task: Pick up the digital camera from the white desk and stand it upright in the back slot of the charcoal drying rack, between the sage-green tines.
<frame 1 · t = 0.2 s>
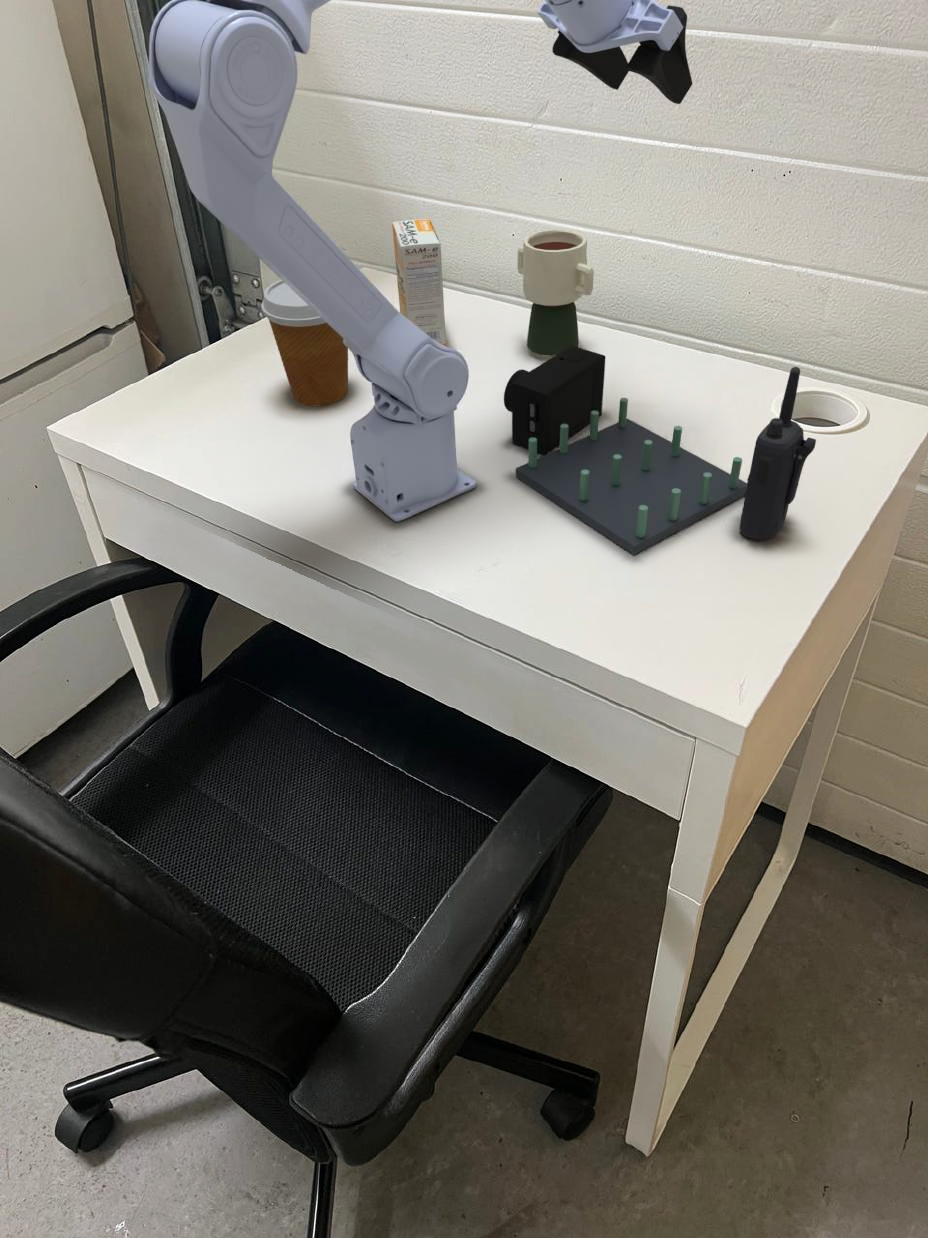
hand: (651, 85, 83), 30 cm above the table, tool tilted 45°, fingers open, 7 cm apart
rack: (629, 484, 90), on the table
character mug: (552, 350, 112), on the table
supplement box: (423, 339, 116), on the table
two-way radio: (767, 530, 84), on the table
digital camera: (553, 429, 99), on the table
disposable coffee cup: (321, 394, 106), on the table
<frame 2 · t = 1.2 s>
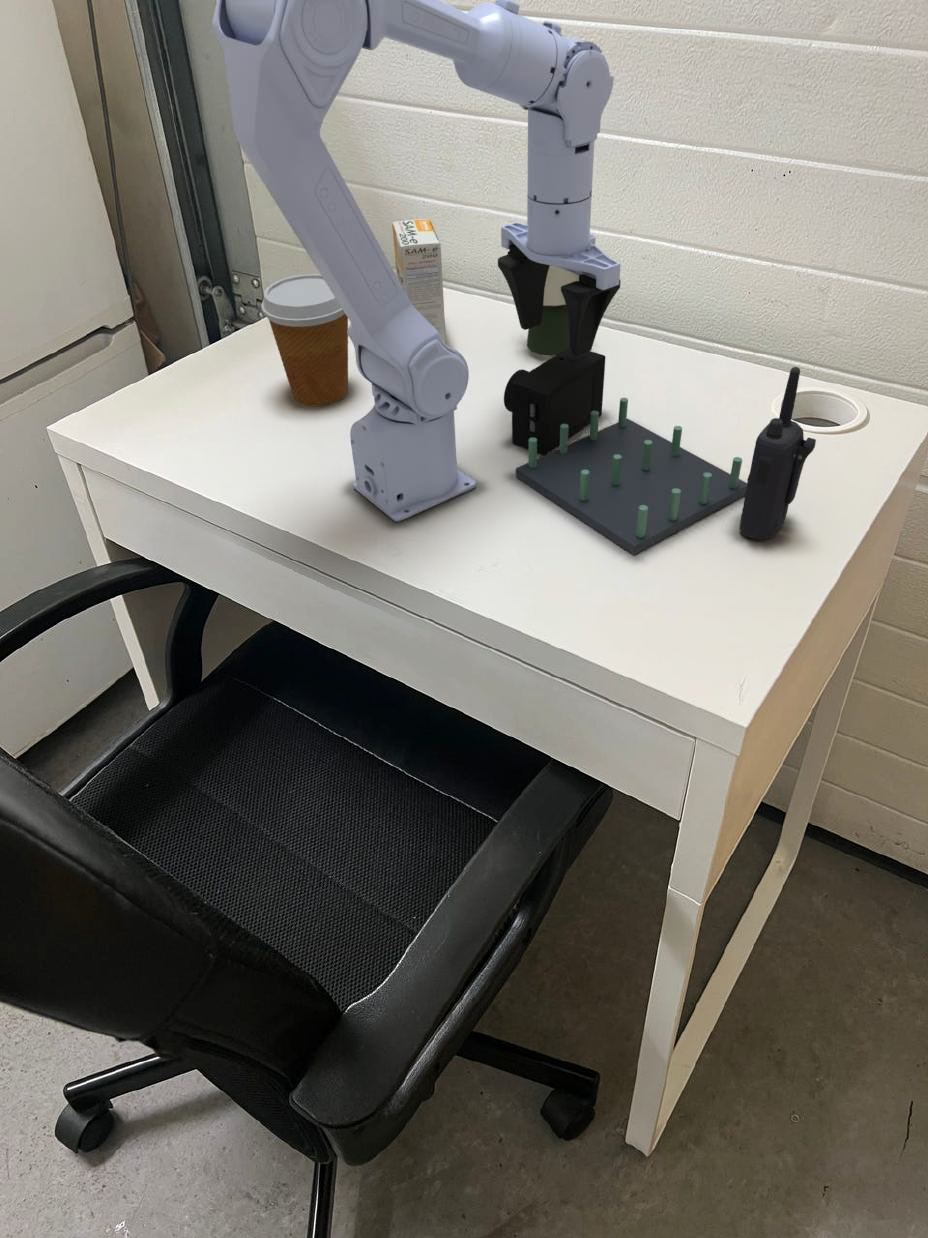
hand: (555, 338, 92), 10 cm above the table, tool pointing down, fingers open, 7 cm apart
nothing on the table moved.
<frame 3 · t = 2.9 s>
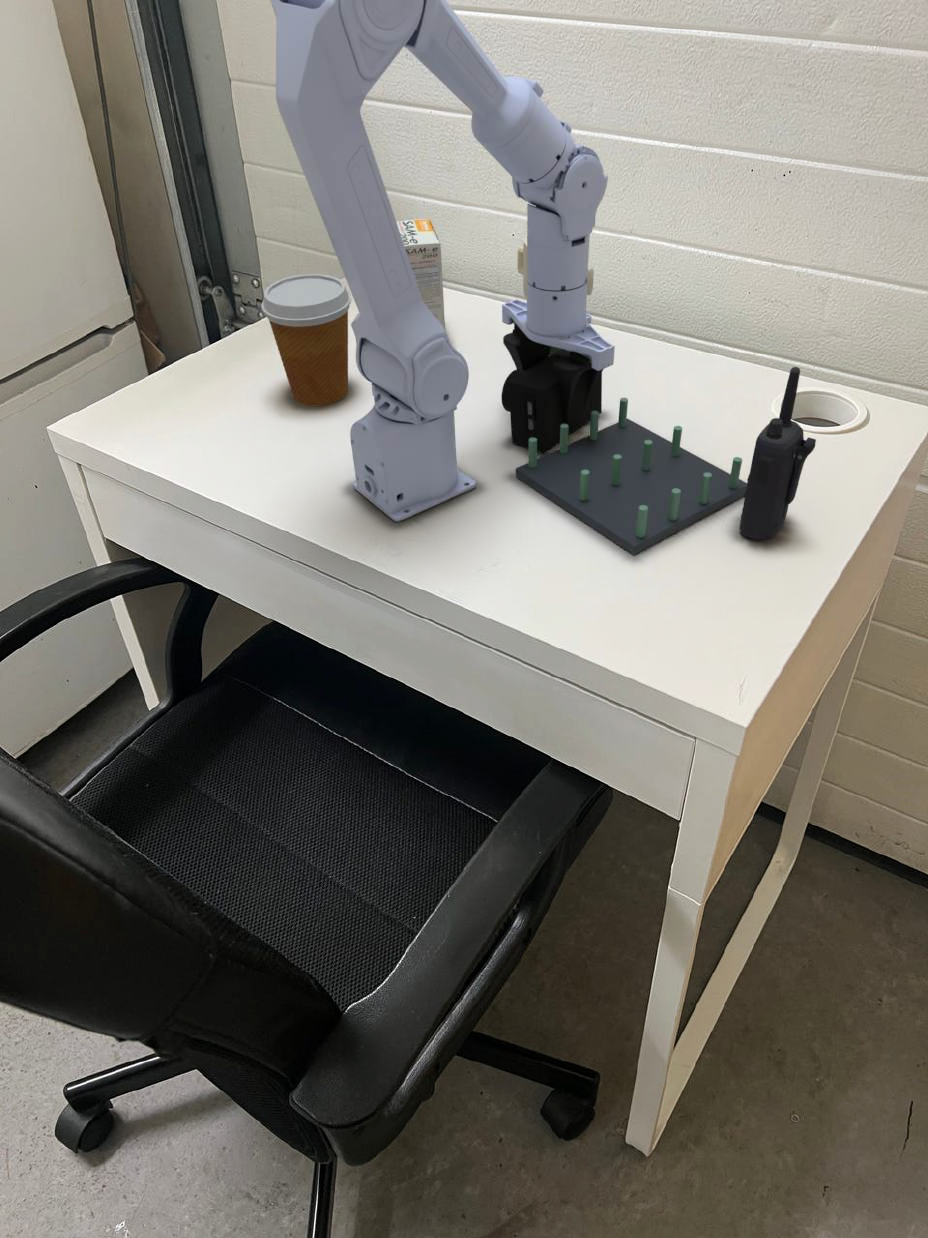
hand: (553, 408, 97), 2 cm above the table, tool pointing down, fingers closed on digital camera, 5 cm apart
digital camera: (552, 428, 99), on the table, touching gripper
everything else where it was.
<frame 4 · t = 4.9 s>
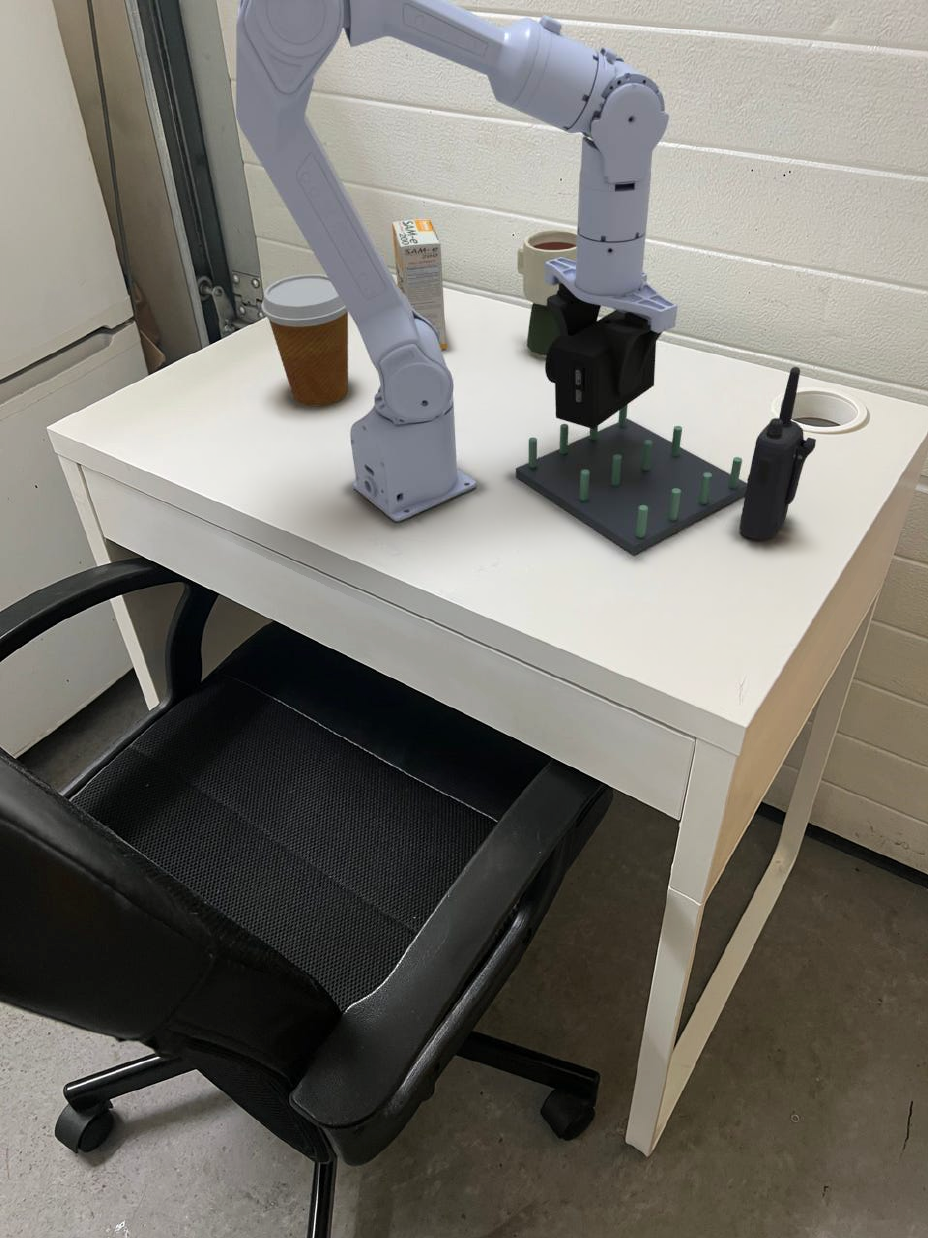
hand: (601, 379, 87), 9 cm above the table, tool pointing down, fingers closed on digital camera, 5 cm apart
digital camera: (600, 402, 88), point 7 cm above the table, touching gripper
everything else where it was.
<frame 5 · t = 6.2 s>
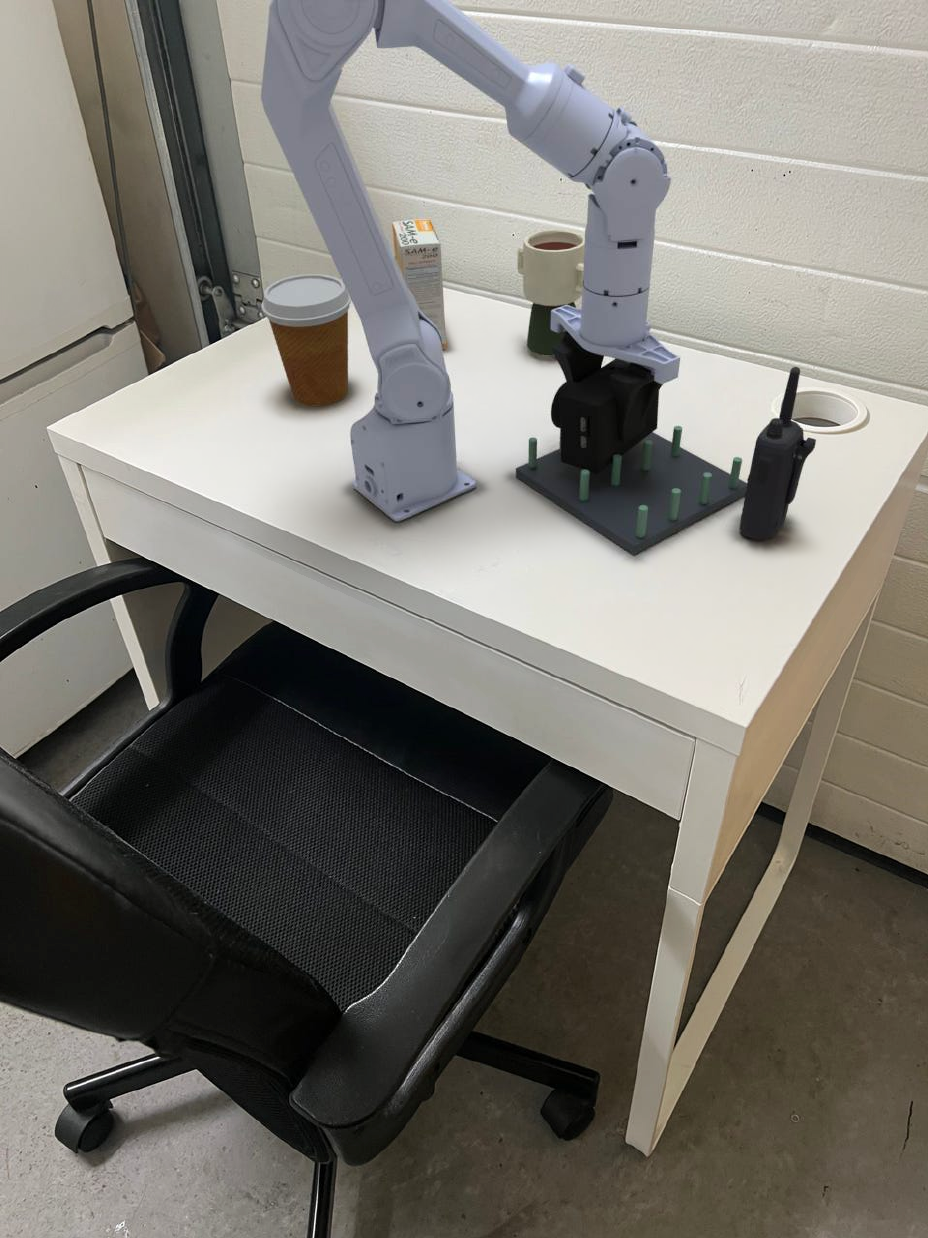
hand: (606, 424, 89), 5 cm above the table, tool pointing down, fingers closed on digital camera, 5 cm apart
digital camera: (604, 445, 90), point 3 cm above the table, touching gripper
everything else where it was.
when the fingers open (3 cm above the table, at t = 7.3 s): digital camera stays where it is, resting on rack.
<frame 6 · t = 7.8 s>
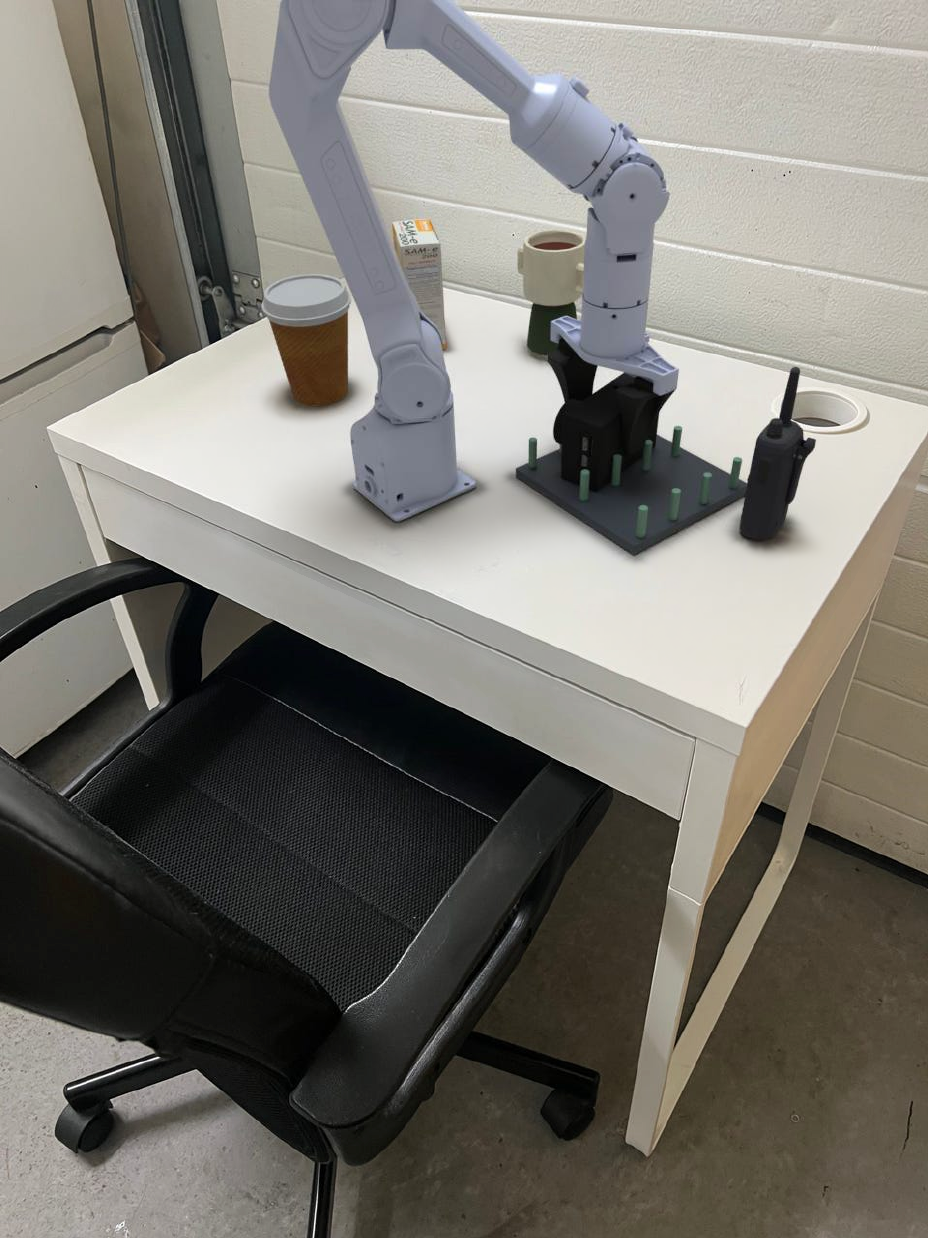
hand: (605, 434, 90), 4 cm above the table, tool pointing down, fingers open, 7 cm apart
digital camera: (603, 461, 92), point 1 cm above the table, touching rack
everything else where it was.
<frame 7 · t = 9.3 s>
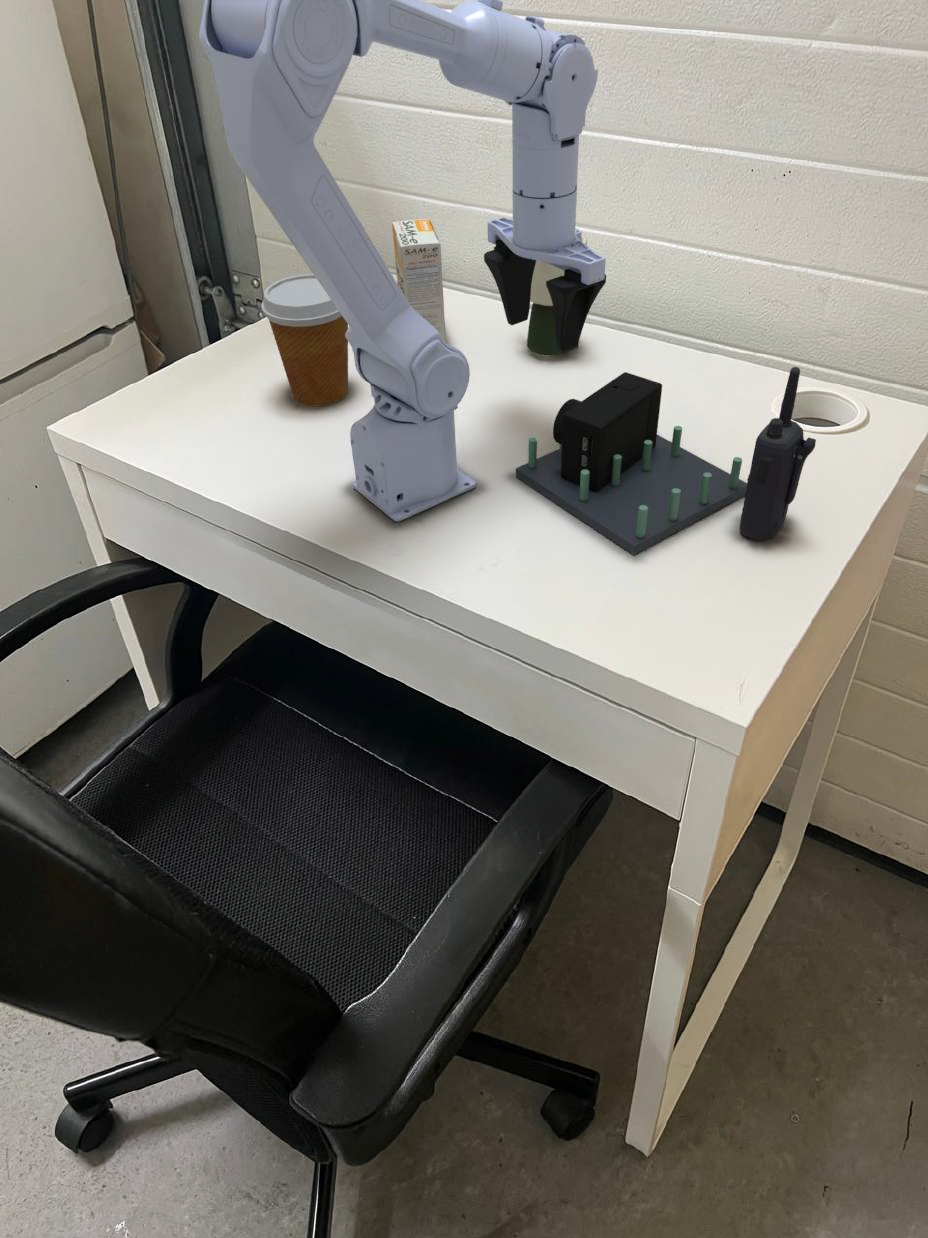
hand: (542, 334, 92), 10 cm above the table, tool pointing down, fingers open, 7 cm apart
nothing on the table moved.
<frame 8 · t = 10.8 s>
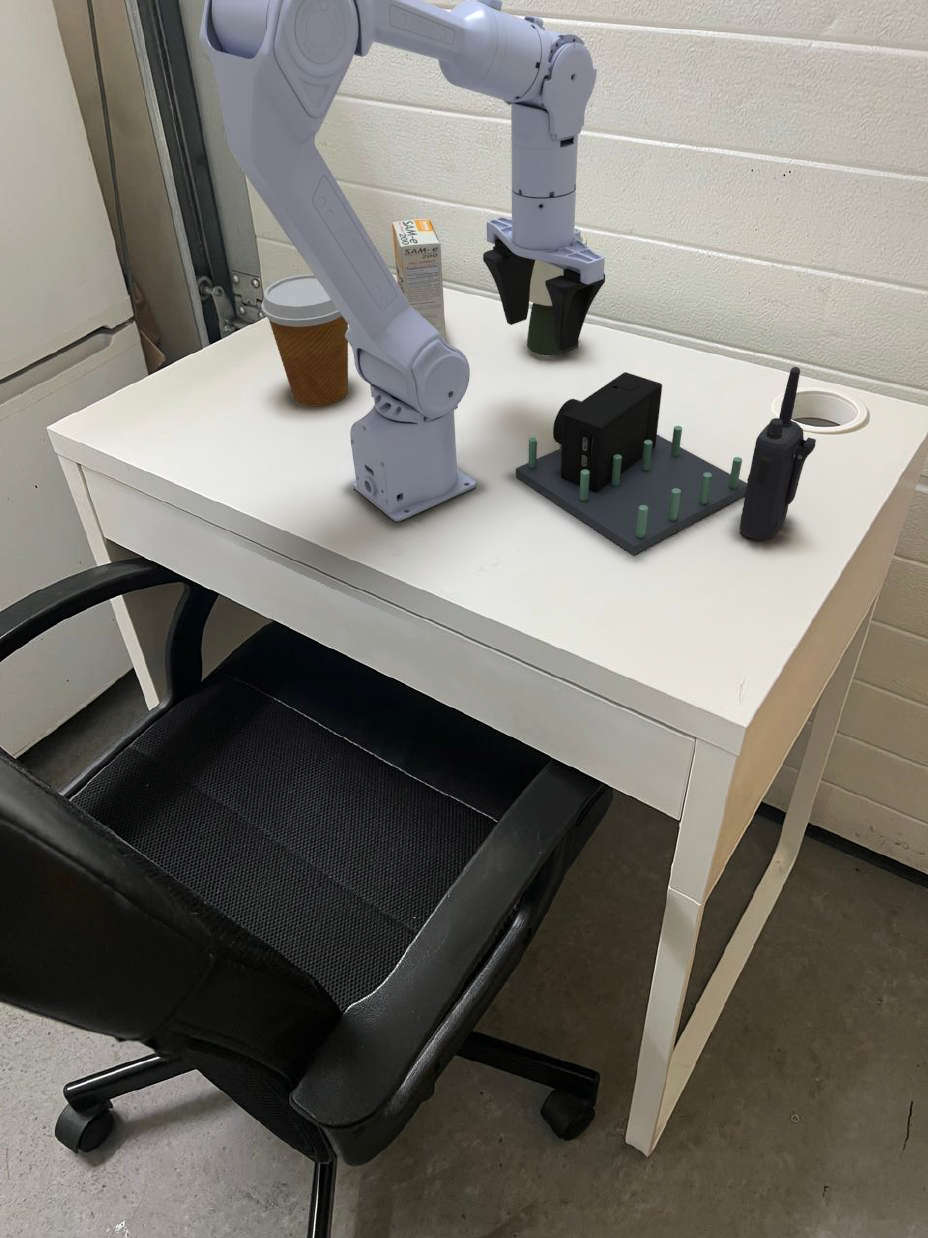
hand: (541, 333, 92), 10 cm above the table, tool pointing down, fingers open, 7 cm apart
nothing on the table moved.
at the end: digital camera inside the target area on the rack (0.0 cm from its centre), point 0.8 cm above the rack's base; digital camera tilted 0°; the gripper is holding nothing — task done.
